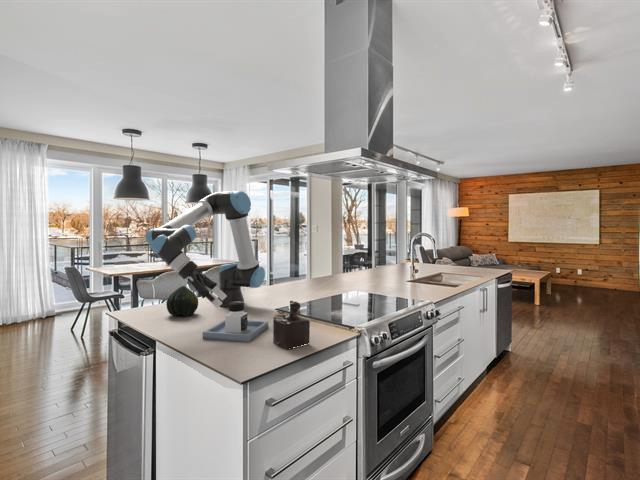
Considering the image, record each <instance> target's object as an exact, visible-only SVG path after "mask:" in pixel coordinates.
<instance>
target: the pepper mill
mask: <svg viewBox="0 0 640 480" xmlns="http://www.w3.org/2000/svg"><path fill="white" fill-rule="evenodd" d="M289 308H290V312H289V314H288V313H286V314H287V315H285V316H284V315H283V317H281V318H276V319H273V320H272V321H273V324H272V326H273V329H272V330H273V333H272V335H273V337H272V340H273V341H272V342H273V343H272V344H274V343H275V344H274V345H276V346H277V347H280V346H281V347H280V348H282V347H284V348H283V349H285V348H286V349H285V350H290V349H289V348H293V347H297V346H301V345H304V344H308V343H309V344H310V334H311V333H310V325H311V324H310V322H311V321H310V320H309V319H307V318H304V317H302V316H299V315H301V310H300V309H301V304H300V302H298V301H294V300H290V301H289Z"/></svg>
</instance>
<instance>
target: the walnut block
mask: <svg viewBox="0 0 640 480" xmlns="http://www.w3.org/2000/svg"><path fill="white" fill-rule="evenodd" d="M287 314H288V313H275V314H274V315H273V317H272V318H273V319H276V318H281V317H283V315H284V316H285V315H287Z"/></svg>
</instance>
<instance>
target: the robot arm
mask: <svg viewBox="0 0 640 480" xmlns="http://www.w3.org/2000/svg"><path fill="white" fill-rule="evenodd" d="M251 207H252V202H251V198H250V197H249V194H247V193H246V192H245V191H242V190H227V191H226V190H225V191H216V192H213V193H211V194H209V195H206V196H205V197H203V198H202V199H200V200H199V201H197V202H196V205H194V206H192V207H190V208H189V209H188V210H186V211H185V212H183V213H181V214H179V215H178V216H176V217H174V218H173V219H171V220H169V221H168V222H166V223H165V224H163V225H161V226H159V227H158V228H155V227H154V228H151V229H149V230H147V232H146V234H145V240H146V242H147V244H149V247H150V249H151V250H152V252H154V253H155V254H156V255H157V257H159V258H160V259H161V260H162V261H164V262H165V264H167V265H168V266H169V267H170V269H171V270H172V271H174V272H175V273H177V274H178V275H179V276H180V278H182V279H183V280H186V279H187V281H188V282H189V283H190V284H191V285H192V287H194V289H195V290H196V292H197V293H198V294H199V295H200V296H201V298H203V299H207V300H208V301H209V302H210V303H211V304H212V305H213V306H214V307H215V308H217V309H219V307H223V308H227V307H228V308H229V304H230V303H231V302H242V303H244V304H245V298H244V295H243V293H242V288H251V289H253V288H254V289H255V288H260V287H261V286H262V285H263V283H264V281H265V278H266V270H265V268H264V267H263V266H260V265H259V261H258V260H257V259H256V258H255V253H254V249H253V245H252V243H253V242H252V239H251V235H250V230H249V225H248V219H247V217H248V216H249V213H250V211H251ZM215 215H225V219H226V221H228V222H229V225H230V229H231V232H232V237H233V242H234V245H235V251H236V255H237V258H238V262H235V263H232V262H231V263H226V264H221V265H220V267H219V271H218V273H219V277H218V278H219V287H218V286H217V285H218V283H217V282H214V281H213V280H211V279H210V278H209V277H208V276H207V275H205V274H203V273H202V272H201V271H200V270H197V268H198V265H197V263H195V262H194V261H193V260H191V258H190V257H189V256H188V255H187V254H186V253H185V252H183V251H182V250H183V249H184V248H186V247H187V246H189V245H190V244H192V242H194V241H195V239H196V238H197V232H196V229H194V228H195V227H194V226H195V225H196V224H197V223H200V221H202V220H204V219H205V218H210V217H212V216H215ZM208 288H209V289H210V290H211V291H209V289H208Z"/></svg>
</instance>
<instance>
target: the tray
mask: <svg viewBox="0 0 640 480" xmlns="http://www.w3.org/2000/svg"><path fill="white" fill-rule="evenodd" d="M268 328H269V321H257V320H248V329H246V330H245V331H244V332H242V333H226V332H225V319H224V320H223V321H220V322H218V323H217V324H215V325H213V326H210V327H209V328H208V329H206V330H204V331H202V339H205V340H217V341H219V340H220V341H231V342H232V341H233V342H244V343H246V342H247V343H250V342H252V341H253V340H254V339H256V338H257V337H258V336H260V335H261V334H262V333H264V331H265V332H266V330H267V329H268Z"/></svg>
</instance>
